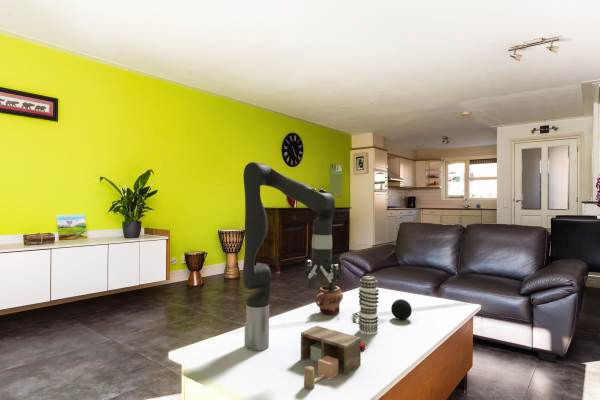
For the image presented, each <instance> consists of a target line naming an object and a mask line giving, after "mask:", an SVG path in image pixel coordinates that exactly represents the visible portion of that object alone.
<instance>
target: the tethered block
mask: <svg viewBox="0 0 600 400" xmlns="http://www.w3.org/2000/svg"><path fill="white" fill-rule="evenodd" d="M317 363H318V364H317V375H318V376H317V377H316V378H315V367H313V365H307V366H304V371H303V372H304V373H303V376H304V377H303V380H304V381H303V384H304V385H303V388H304V389H305V390H313V389H315V383H316V382H318V381H319V380H320V379H323V378H325V379H328V380H331V379H333V378H334V377H336V376H338V374H339V359H336V358H333V357H330V356H327V355H326V356H325V357H323V358H321V359H320V360H318V361H317Z"/></svg>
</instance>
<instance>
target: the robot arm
mask: <svg viewBox="0 0 600 400" xmlns="http://www.w3.org/2000/svg"><path fill="white" fill-rule="evenodd" d="M262 186H266V187H271V188H274V189H275V190H278V191H280V192H281V193H283V194H284V195H285V197H286V196H287V198H289V199H291V200H294V201H296V202H298V203H301V204H302V205H304V206H305V207H307V208H308V209H310V210H312V211H313V212H317V216H316V218H314V220H313V223H312V237H311V238H312V239H311V259H307V260H305V263H304V277H307V278H308V287H309V289H314V288H316V286H315V284H316V281H315V280H316V278H315V277H316V276H317V275H323V276H324V277H325V278H327V280H328V286H329V287H328V292H329V293H332V292H333V291H334V286H335V284H336V283H335V282H339V281H340V279H341V278H340V264H339V263H336V264H333V263H332V260H333V235H332V234H333V232H332V231H333V229H332V223H333V218H334V214H335V210H336V201H335V200H336V199H335V198H334V196H333V195H332V193H328V192H319V191H316V190H314V189H312V187H310V186H309V185H307V184H305V183H302V182H300V181H297V180H296V179H292V178H290V177H287V176H286V175H284V174H281V173H280V172H279V171H277V170H275V169H273V168H272V167H271V166H269V165H267V164H266V163H261V162H252V161H251V162H248V163H247V164H246V165H245V166H244V169H243V188H244V254H243V256H244V257H243V266H242V283H243V286H244V288H245V289H246V290H256V291H255V292H254V293H252V294H251V295H249V296H247V298H246V311H245V312H246V318H245V319H246V321H245V322H244V347H246V349H247V350H249V351H252V352H253V351H255V352H256V351H257V352H258V351H259V352H260V351H263V350H267V349H268V348H269V346H270V343H269V342H270V341H269V340H270V300H271V287H272V273H271V269H270V267H269V266H268V265H267V264H258V265H257V264H256V265H255V261H256V258H257V254H258V252H259V250H260V248H261V246H262V245H263V243H264V241H265V239H266V237H267V234H268V223H269V222H268V215H267V212H266V209H265V206H264V204H263V201H262V197H261V187H262Z"/></svg>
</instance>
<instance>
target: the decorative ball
mask: <svg viewBox="0 0 600 400" xmlns="http://www.w3.org/2000/svg"><path fill="white" fill-rule="evenodd" d="M390 311H391V313H392V315H393V317H394V318H395V319H397V320H400V321H404V320H407V319H409V318H410V317H411V315H412V306H411V304H410V303H409V301H407V300H405V299H402V298H401V299H396V300H395V301H393V303H392V304H391V310H390Z"/></svg>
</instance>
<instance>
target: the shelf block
mask: <svg viewBox="0 0 600 400" xmlns="http://www.w3.org/2000/svg"><path fill="white" fill-rule="evenodd" d="M309 357H310V358H309V359H310V360H312V361H315V362H318V360H320V359H321V343H320V342H317V343H315V344H313V345H312V346H311V356H309Z"/></svg>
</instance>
